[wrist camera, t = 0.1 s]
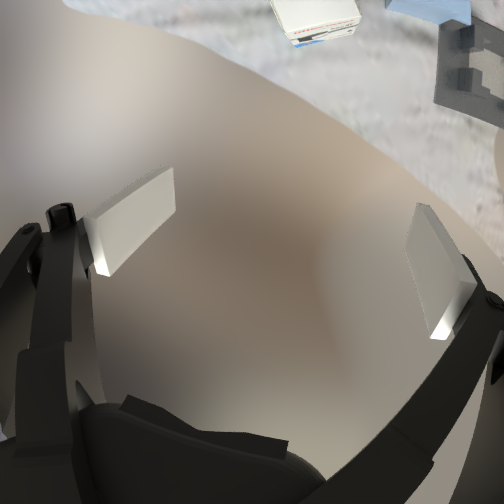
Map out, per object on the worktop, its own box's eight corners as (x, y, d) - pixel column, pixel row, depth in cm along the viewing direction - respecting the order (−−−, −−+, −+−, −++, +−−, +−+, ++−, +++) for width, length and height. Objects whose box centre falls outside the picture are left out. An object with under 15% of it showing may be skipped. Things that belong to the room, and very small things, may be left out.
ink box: (295, 48, 33) (282, 35, 23) (283, 18, 31) (266, -4, 21) (354, 35, 30) (364, 17, 20) (342, 5, 28) (347, -23, 18)
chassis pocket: (438, 4, 23) (452, -4, 18) (539, 55, 19) (558, 56, 15) (433, 103, 31) (447, 106, 27) (531, 142, 28) (549, 152, 23)
